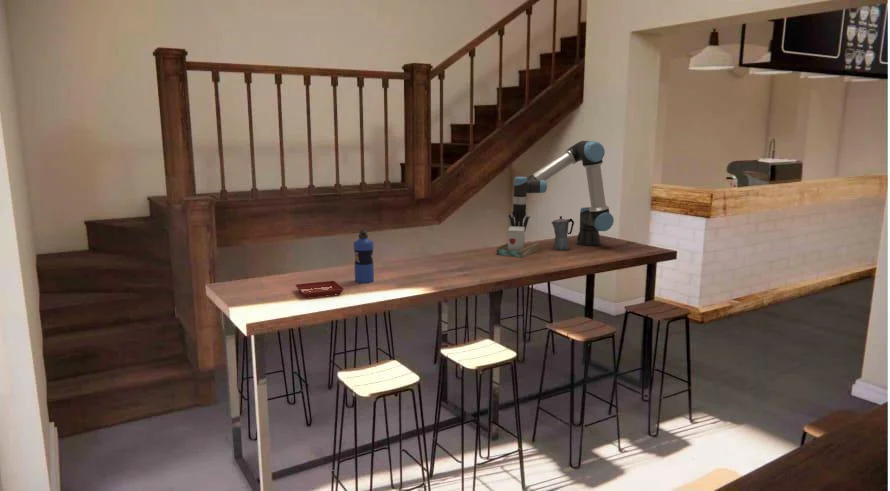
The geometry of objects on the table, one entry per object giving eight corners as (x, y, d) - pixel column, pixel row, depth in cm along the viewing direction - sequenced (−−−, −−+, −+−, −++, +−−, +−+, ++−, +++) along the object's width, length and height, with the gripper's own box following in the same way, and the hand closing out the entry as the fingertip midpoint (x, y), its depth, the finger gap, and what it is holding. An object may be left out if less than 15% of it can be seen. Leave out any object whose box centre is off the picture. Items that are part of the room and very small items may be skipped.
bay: (539, 250, 378) (539, 243, 377) (522, 257, 358) (522, 249, 357) (514, 247, 386) (514, 240, 385) (496, 254, 366) (496, 246, 365)
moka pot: (546, 248, 383) (547, 215, 380) (567, 246, 390) (568, 214, 386) (555, 251, 375) (556, 217, 371) (577, 249, 381) (578, 216, 377)
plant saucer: (295, 291, 289) (294, 283, 288) (334, 286, 296) (334, 280, 295) (303, 300, 272) (303, 293, 272) (344, 296, 280) (344, 288, 279)
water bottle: (357, 284, 299) (356, 231, 294) (352, 280, 307) (350, 228, 302) (376, 282, 302) (375, 230, 298) (370, 278, 311) (369, 227, 306)
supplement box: (507, 255, 365) (507, 229, 361) (509, 250, 373) (509, 225, 369) (523, 255, 363) (523, 230, 359) (524, 251, 372) (524, 226, 367)
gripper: (506, 203, 368) (505, 243, 373) (527, 205, 362) (525, 245, 366) (512, 202, 374) (511, 241, 379) (532, 203, 368) (531, 243, 373)
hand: (518, 243), depth 373 cm, fingers closed
